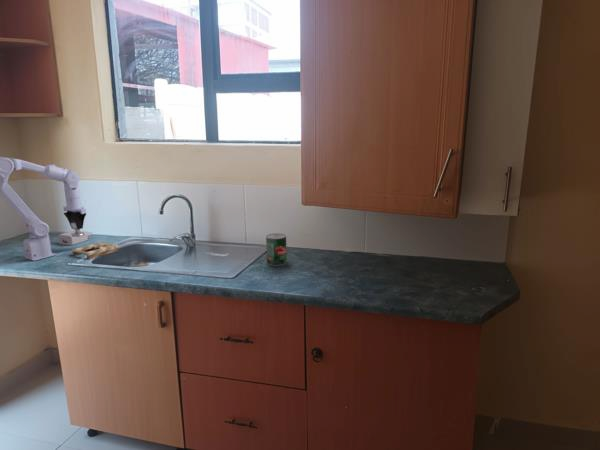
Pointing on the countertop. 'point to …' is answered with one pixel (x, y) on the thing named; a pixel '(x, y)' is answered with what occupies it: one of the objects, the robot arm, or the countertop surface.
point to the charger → (72, 238)
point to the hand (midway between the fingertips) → (77, 228)
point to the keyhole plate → (96, 250)
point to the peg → (76, 230)
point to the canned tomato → (276, 249)
